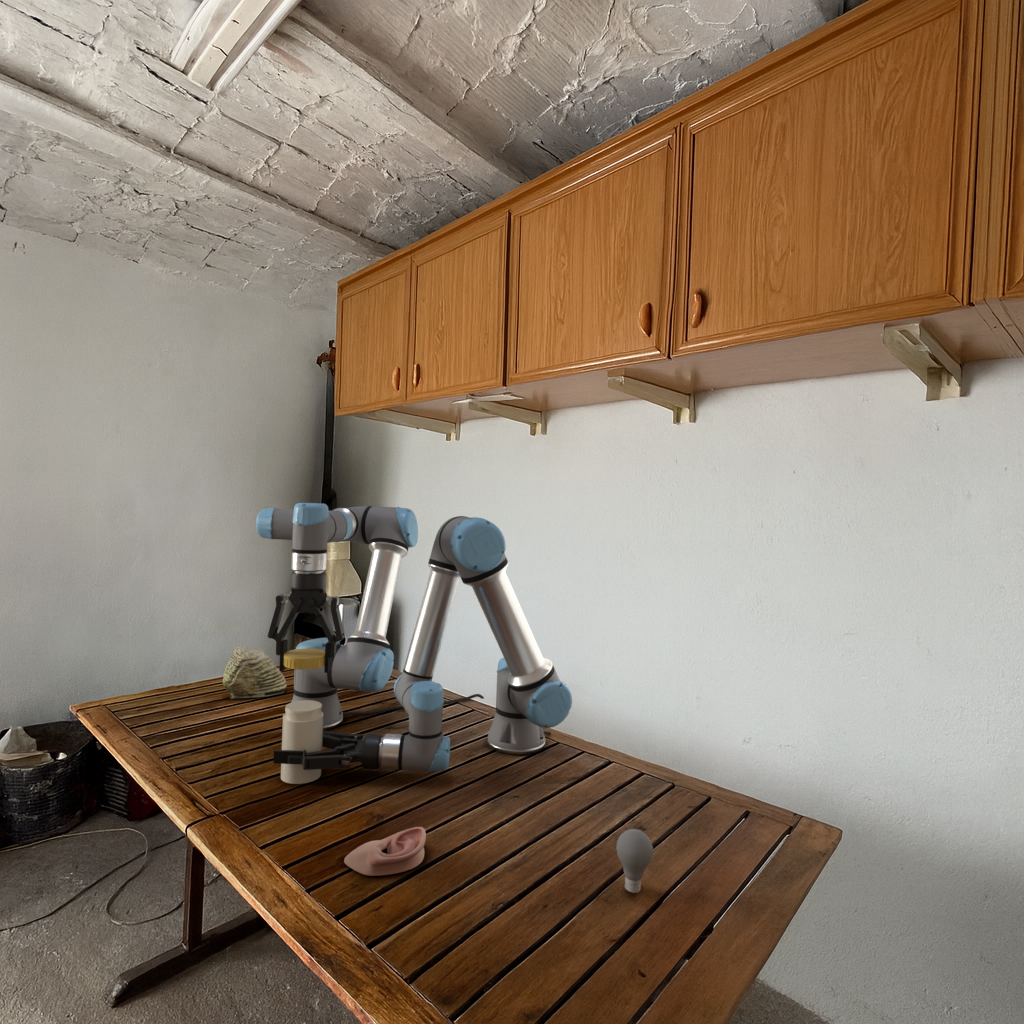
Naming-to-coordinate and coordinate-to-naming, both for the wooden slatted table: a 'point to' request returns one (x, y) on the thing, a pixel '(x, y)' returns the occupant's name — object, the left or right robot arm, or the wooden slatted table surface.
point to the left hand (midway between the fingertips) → (305, 670)
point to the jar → (301, 738)
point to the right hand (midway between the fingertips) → (281, 748)
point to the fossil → (252, 674)
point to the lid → (304, 658)
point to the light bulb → (634, 857)
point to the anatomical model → (389, 853)
